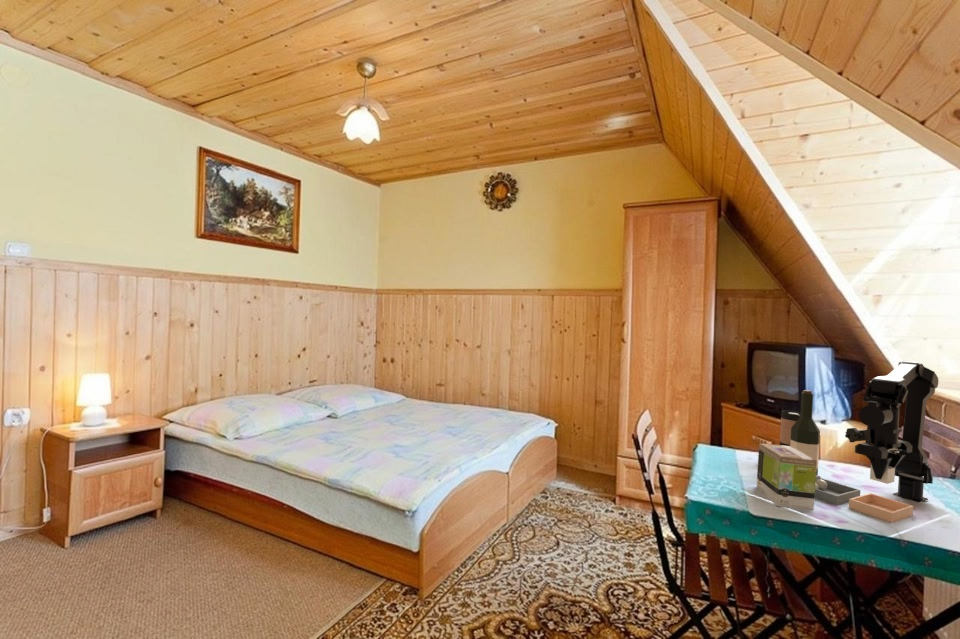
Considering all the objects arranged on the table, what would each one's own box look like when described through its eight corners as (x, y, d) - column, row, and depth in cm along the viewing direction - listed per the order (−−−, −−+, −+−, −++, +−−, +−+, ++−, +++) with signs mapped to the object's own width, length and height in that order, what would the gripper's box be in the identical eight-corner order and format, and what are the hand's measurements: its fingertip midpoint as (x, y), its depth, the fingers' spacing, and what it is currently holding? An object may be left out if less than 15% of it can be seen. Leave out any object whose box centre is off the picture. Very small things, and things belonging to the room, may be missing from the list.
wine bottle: (785, 471, 164) (790, 387, 164) (813, 475, 161) (818, 390, 161) (791, 479, 157) (796, 391, 156) (821, 483, 154) (826, 393, 153)
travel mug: (779, 461, 176) (782, 409, 176) (804, 466, 172) (807, 412, 171) (777, 466, 170) (779, 412, 170) (802, 471, 166) (805, 415, 165)
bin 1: (785, 475, 160) (786, 465, 160) (859, 499, 140) (860, 488, 140) (762, 480, 154) (763, 470, 154) (836, 506, 134) (837, 494, 134)
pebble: (809, 489, 146) (809, 479, 146) (820, 493, 143) (821, 482, 143) (803, 490, 145) (804, 480, 145) (814, 494, 142) (815, 484, 142)
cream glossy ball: (818, 487, 148) (818, 477, 148) (829, 490, 146) (829, 480, 146) (812, 488, 147) (813, 478, 147) (823, 492, 144) (824, 482, 144)
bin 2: (869, 502, 138) (870, 493, 138) (912, 516, 129) (913, 506, 129) (848, 509, 133) (849, 498, 133) (891, 524, 124) (892, 513, 124)
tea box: (815, 511, 130) (818, 459, 130) (776, 507, 132) (779, 456, 132) (790, 491, 145) (792, 444, 145) (755, 488, 147) (757, 441, 147)
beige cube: (877, 477, 134) (877, 463, 134) (894, 481, 130) (895, 467, 130) (869, 478, 132) (870, 465, 132) (887, 483, 128) (888, 469, 128)
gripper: (867, 414, 142) (865, 465, 142) (834, 419, 134) (832, 472, 134) (914, 423, 132) (911, 477, 132) (882, 428, 124) (879, 486, 124)
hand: (882, 477), depth 131 cm, fingers closed on beige cube, 4 cm apart
